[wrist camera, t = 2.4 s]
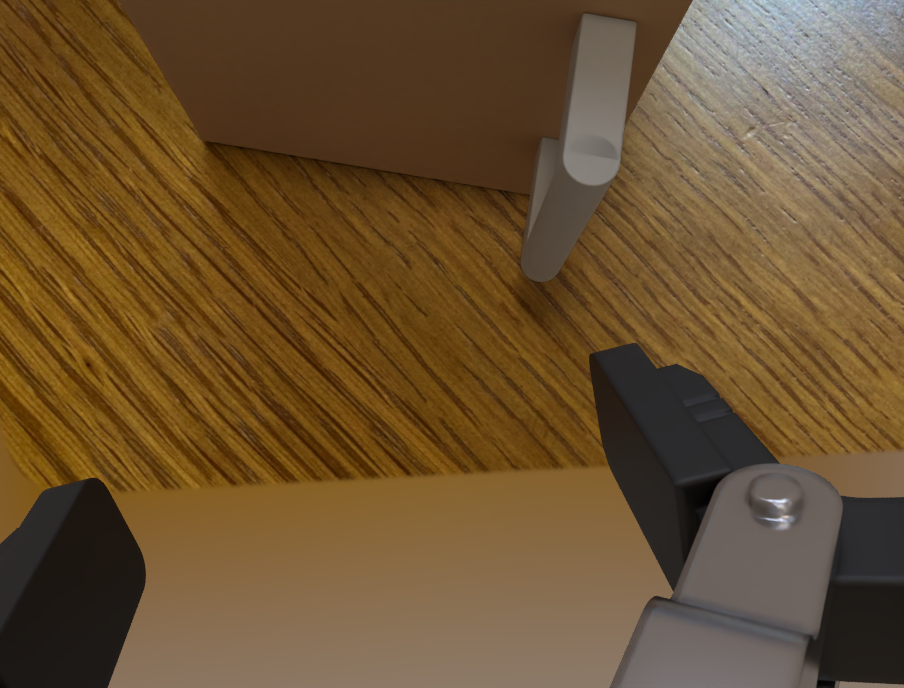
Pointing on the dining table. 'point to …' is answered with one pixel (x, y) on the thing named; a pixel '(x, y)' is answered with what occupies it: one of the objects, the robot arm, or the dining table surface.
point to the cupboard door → (425, 89)
